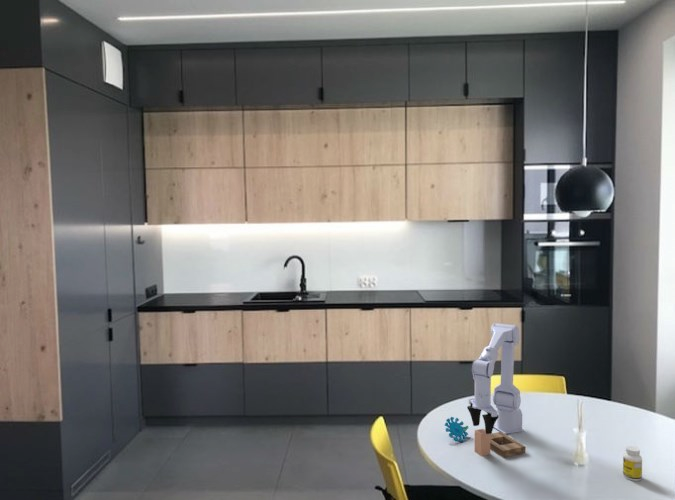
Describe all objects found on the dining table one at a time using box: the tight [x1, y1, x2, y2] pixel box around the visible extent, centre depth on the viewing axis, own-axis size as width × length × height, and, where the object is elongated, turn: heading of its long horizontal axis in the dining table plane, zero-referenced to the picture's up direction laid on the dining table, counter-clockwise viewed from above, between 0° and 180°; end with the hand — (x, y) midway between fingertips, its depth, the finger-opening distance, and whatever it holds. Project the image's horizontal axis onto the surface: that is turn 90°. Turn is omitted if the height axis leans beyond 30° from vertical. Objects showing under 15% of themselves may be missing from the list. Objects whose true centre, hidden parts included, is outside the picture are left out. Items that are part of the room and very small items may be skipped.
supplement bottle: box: [622, 445, 643, 482], centre depth 166 cm, size 5×5×10 cm
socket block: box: [490, 431, 527, 459], centre depth 190 cm, size 10×14×2 cm
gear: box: [444, 416, 469, 443], centre depth 199 cm, size 11×6×10 cm
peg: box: [474, 428, 491, 457], centre depth 185 cm, size 4×4×8 cm
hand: (482, 429), depth 185 cm, fingers open, 7 cm apart
